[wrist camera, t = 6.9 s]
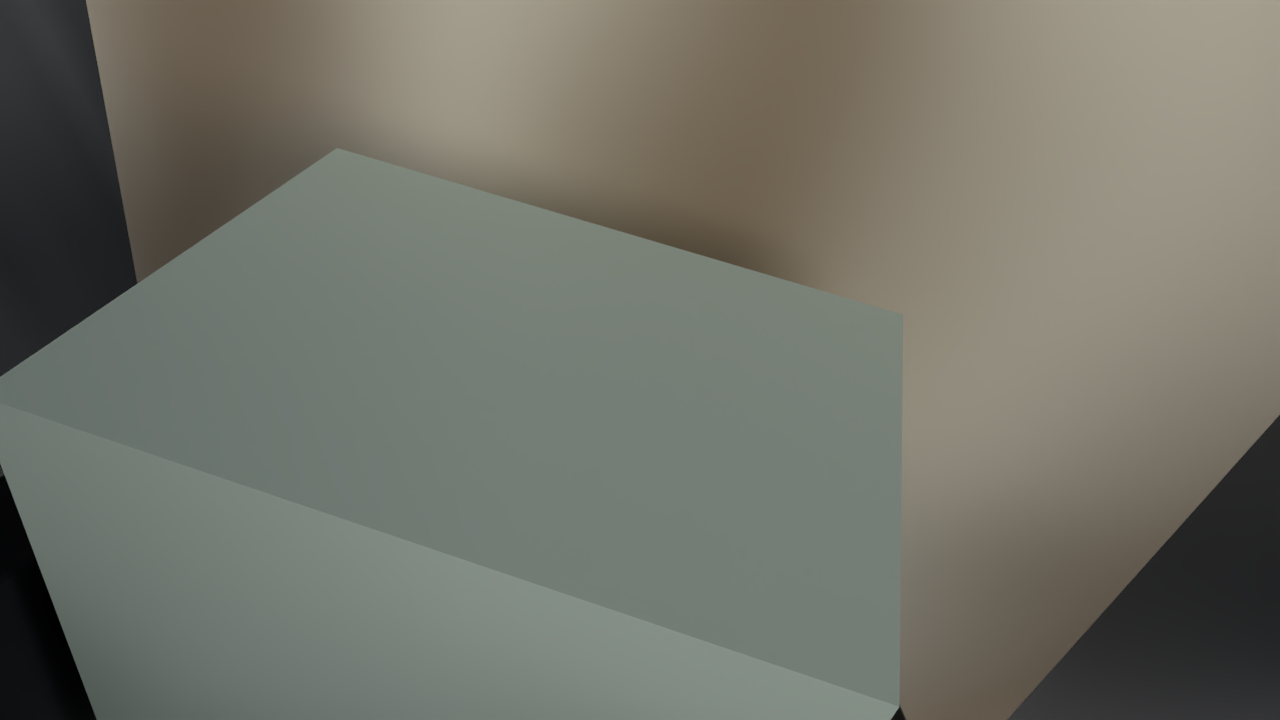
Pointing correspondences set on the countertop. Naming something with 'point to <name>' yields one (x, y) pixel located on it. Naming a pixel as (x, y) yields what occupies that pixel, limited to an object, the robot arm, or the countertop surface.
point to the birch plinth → (834, 227)
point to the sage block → (464, 473)
